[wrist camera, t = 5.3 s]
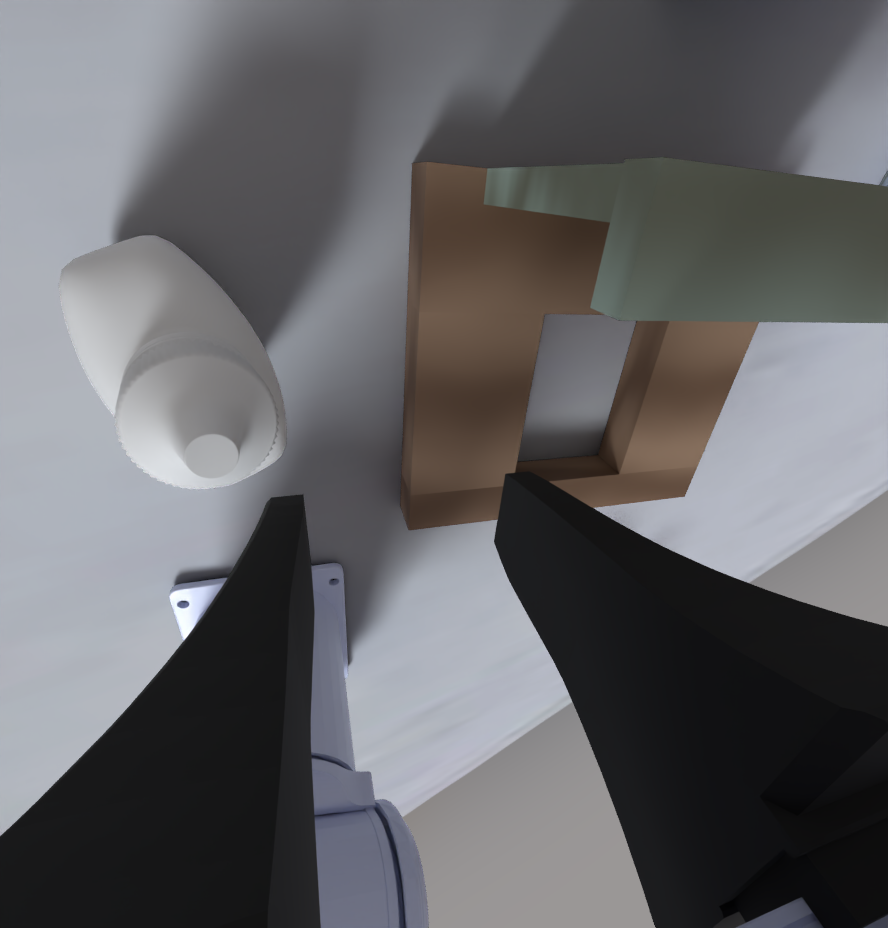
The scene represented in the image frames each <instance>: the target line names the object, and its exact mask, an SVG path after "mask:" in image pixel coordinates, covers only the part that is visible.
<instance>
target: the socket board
mask: <svg viewBox="0 0 888 928" xmlns="http://www.w3.org/2000/svg"><path fill="white" fill-rule="evenodd" d="M545 314H592V315H608V316H610V317H612V318H615V319H617V320H619V321H637V322H636V326H635V329H634V333H633V336H632V339H631V343H630V346H629V350H628V353H627V357H626V360H625V364H624V367H623V370H622V374H621V377H620V381H619V384H618V388H617V391H616V395H615V398H614V401H613V405H612V408H611V412H610V415H609V419H608V422H607V425H606V429H605V432H604V436H603V439H602V443H601V446H600V450H599V453H598V455H593V456H581V457H569V458H558V459H546V460H535V461H523V462H517V460H518V454H519V449H520V443H521V438H522V433H523V427H524V422H525V417H526V411H527V406H528V401H529V395H530V390H531V385H532V379H533V374H534V369H535V363H536V358H537V353H538V347H539V342H540V337H541V331H542V326H543V320H544V315H545ZM759 322H832V323H888V186H880V185H873V184H865V183H857V182H850V181H842V180H834V179H827V178H819V177H811V176H804V175H796V174H788V173H781V172H773V171H765V170H758V169H750V168H742V167H735V166H727V165H720V164H712V163H704V162H697V161H689V160H681V159H674V158H666V157H658V158H638V159H625V162H624V163H614V164H588V165H561V166H535V167H509V168H480V167H471V166H461V165H452V164H443V163H434V162H419V163H412V186H411V214H410V243H409V271H408V299H407V327H406V356H405V384H404V412H403V441H402V469H401V497H400V506H401V509H402V512H403V515H404V518H405V521H406V524H407V527H408V530H416V529H424V528H432V527H440V526H449V525H457V524H465V523H473V522H481V521H489V520H497V519H498V515H499V509H500V503H501V497H502V490H503V484H504V478H505V474H507V473H517V472H527V471H530V472H532V473H534V474H536V475H538V476H540V477H542V478H543V479H545V480H547V481H549V482H550V483H552V484H554V485H555V486H557V487H559V488H560V489H562V490H564V491H565V492H567V493H569V494H570V495H572V496H574V497H575V498H577V499H578V500H580V501H582V502H583V503H585V504H587V505H588V506H590V507H592V508H595V507H603V506H611V505H619V504H627V503H635V502H644V501H652V500H660V499H668V498H676V497H684V496H685V494H686V492H687V490H688V487H689V485H690V483H691V480H692V478H693V475H694V473H695V471H696V468H697V466H698V464H699V461H700V459H701V457H702V454H703V452H704V450H705V447H706V445H707V443H708V440H709V438H710V436H711V433H712V431H713V429H714V426H715V424H716V422H717V419H718V417H719V415H720V412H721V410H722V408H723V405H724V403H725V400H726V398H727V396H728V393H729V391H730V389H731V386H732V384H733V382H734V379H735V377H736V375H737V372H738V370H739V368H740V365H741V363H742V361H743V358H744V356H745V354H746V351H747V349H748V347H749V344H750V342H751V340H752V337H753V335H754V333H755V330H756V328H757V325H758V323H759Z"/></svg>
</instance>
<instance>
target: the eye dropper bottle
mask: <svg viewBox="0 0 888 928" xmlns="http://www.w3.org/2000/svg"><path fill="white" fill-rule="evenodd" d="M59 292H60V300H61V306H62V310H63V314H64V319H65V322H66V325H67V329H68V332H69V335H70V338H71V341H72V343H73V346H74V348H75V351H76V354H77V356H78V358H79V361H80V363H81V365H82V367H83V369H84V371H85V373H86V375H87V377H88V379H89V380H90V382H91V384H92V386H93V387H94V389H95V391H96V392H97V394H98V395H99V397H100V398H101V400H102V401H103V403H104V404H105V405H106V407H107V408H108V409H109V411H110V412H111V413H112V415H113V416H114V418H115V419H116V421H115V426H116V427H117V430H116V434H118V435H119V440H118V441H119V442H121V443H122V449H124V450H126V455H127V456H129V457H131V462H134V463H137V467H138V468H141V469H143V473H148V474H150V477H153V478H157V480H158V481H164V482H165V484H172V485H173V487H176V486H180V487H181V488H188V489H190V490H191V489H194V488H195V489H197V490H200V489H202V488H203V489H206V490H207V489H209V488H213V489H215V488H216V487H224V486H228V485H232V484H235V483H237V482H239V481H241V480H244V479H246V478H247V477H249V476H251V475H253V474H255V473H257V472H259V471H261V470H263V469H264V468H266V467H268V466H269V465H271V464H273V463H274V462H275V461H276V460H277V459H278V458H279V457H280V456H281V455H282V454H283V451H284V449H285V446H286V440H287V426H286V415H285V407H284V402H283V397H282V393H281V389H280V386H279V383H278V380H277V377H276V374H275V371H274V369H273V366H272V364H271V361H270V359H269V357H268V355H267V353H266V351H265V349H264V347H263V345H262V343H261V341H260V340H259V338H258V336H257V335H256V333H255V331H254V330H253V328H252V327H251V325H250V324H249V322H248V321H247V319H246V318H245V317H244V315H243V314H242V313H241V311H240V310H239V309H238V307H237V306H236V305H235V304H234V302H233V301H232V300H231V299H230V298H229V296H228V295H227V294H226V293H225V292H224V290H223V289H222V288H221V287H220V286H219V285H218V284H217V283H216V282H215V281H214V280H213V279H212V278H211V277H210V276H209V275H208V274H207V273H206V272H205V271H204V270H203V269H202V268H201V267H200V266H199V265H198V264H197V263H195V262H194V261H193V260H192V259H191V258H190V257H189V256H187V255H186V254H185V253H184V252H183V251H181V250H180V249H179V248H178V247H176V246H175V245H174V244H172V243H171V242H169V241H167V240H165V239H163V238H161V237H158V236H156V235H143V236H138V237H134V238H131V239H127V240H124V241H121V242H118V243H115V244H113V245H110V246H107V247H104V248H101V249H98V250H95V251H93V252H90V253H88V254H85V255H83V256H80V257H78V258H75V259H73V260H72V261H71V262H70V263H69V264H67V265H66V266H65V267H64V268H63V269H62V272H61V277H60V281H59Z"/></svg>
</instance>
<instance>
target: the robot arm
mask: <svg viewBox="0 0 888 928" xmlns="http://www.w3.org/2000/svg"><path fill="white" fill-rule="evenodd" d="M494 543H495V545H496V548H497V551H498V554H499V556H500V559H501V562H502V564H503V567H504V569H505V572H506V574H507V577H508V579H509V581H510V583H511V585H512V587H513V589H514V590H515V592H516V594H517V596H518V598H519V600H520V601H521V603H522V605H523V607H524V609H525V611H526V612H527V614H528V616H529V618H530V620H531V621H532V623H533V625H534V627H535V629H536V630H537V632H538V634H539V636H540V638H541V639H542V641H543V643H544V645H545V647H546V648H547V650H548V652H549V654H550V656H551V657H552V659H553V661H554V663H555V665H556V667H557V669H558V671H559V673H560V675H561V677H562V679H563V681H564V683H565V685H566V688H567V690H568V692H569V695H570V697H571V699H572V702H573V704H574V706H575V709H576V711H577V713H578V716H579V718H580V720H581V723H582V725H583V727H584V730H585V732H586V735H587V737H588V740H589V742H590V745H591V747H592V750H593V752H594V755H595V757H596V760H597V762H598V765H599V767H600V770H601V772H602V775H603V778H604V780H605V783H606V786H607V788H608V791H609V794H610V797H611V799H612V802H613V804H614V807H615V810H616V813H617V815H618V818H619V820H620V823H621V826H622V829H623V832H624V834H625V838H626V841H627V843H628V847H629V849H630V852H631V855H632V858H633V861H634V864H635V867H636V870H637V873H638V876H639V879H640V882H641V885H642V888H643V890H644V894H645V897H646V900H647V903H648V906H649V909H650V913H651V916H652V919H653V922H654V925H655V927H656V928H888V627H887V626H883V625H879V624H875V623H872V622H867V621H864V620H860V619H856V618H852V617H849V616H846V615H842V614H839V613H836V612H832V611H829V610H826V609H823V608H819V607H816V606H813V605H810V604H807V603H803V602H800V601H797V600H794V599H791V598H788V597H785V596H782V595H779V594H777V593H773V592H771V591H768V590H765V589H762V588H760V587H757V586H754V585H752V584H749V583H747V582H744V581H741V580H739V579H736V578H733V577H731V576H728V575H726V574H723V573H721V572H718V571H716V570H714V569H711V568H709V567H706V566H704V565H702V564H700V563H698V562H695V561H693V560H691V559H689V558H686V557H684V556H682V555H680V554H678V553H675V552H673V551H671V550H669V549H667V548H665V547H663V546H661V545H659V544H657V543H655V542H653V541H651V540H649V539H647V538H645V537H643V536H642V535H640V534H638V533H636V532H634V531H632V530H630V529H628V528H627V527H625V526H623V525H621V524H619V523H618V522H616V521H614V520H612V519H611V518H609V517H607V516H605V515H604V514H602V513H600V512H599V511H597V510H595V509H594V508H592V507H590V506H588V505H587V504H585V503H583V502H582V501H580V500H578V499H577V498H575V497H574V496H572V495H570V494H569V493H567V492H565V491H564V490H562V489H560V488H559V487H557V486H555V485H554V484H552V483H550V482H549V481H547V480H545V479H543V478H542V477H540V476H538V475H536V474H534V473H532V472H530V471H527V472H517V473H507V474H505V478H504V484H503V490H502V497H501V503H500V509H499V515H498V521H497V527H496V533H495V539H494ZM333 578H337V579H336V580H331V579H333ZM169 599H170V602H171V605H172V608H173V611H174V614H175V617H176V620H177V623H178V626H179V629H180V632H181V635H182V638H183V643H182V644H181V645H180V646H179V648H178V649H177V650H176V651H175V653H174V654H173V655H172V656H171V658H170V659H169V660H168V662H167V663H166V664H165V665H164V666H163V668H162V669H161V670H160V671H159V672H158V673H157V675H156V676H155V677H154V678H153V679H152V680H151V682H150V683H149V684H148V685H147V686H146V687H145V689H144V690H143V691H142V692H141V693H140V694H139V695H138V697H137V698H136V699H135V700H134V701H133V702H132V704H131V705H130V706H129V707H128V708H127V709H126V710H125V711H124V712H123V714H122V715H121V716H120V717H119V718H118V719H117V720H116V721H115V722H114V723H113V725H112V726H111V727H110V728H109V729H108V730H107V731H106V732H105V733H104V734H103V735H102V736H101V737H100V738H99V739H98V740H97V741H96V742H95V743H94V744H93V745H92V746H91V747H90V748H89V749H88V750H87V751H86V752H85V753H84V754H83V755H82V756H81V757H80V758H79V759H78V760H77V761H76V763H75V764H74V765H73V766H72V767H71V768H70V769H69V770H68V771H67V772H66V773H65V774H64V775H63V776H62V777H61V778H60V779H59V780H58V781H57V782H56V783H55V784H54V785H53V786H52V787H51V788H50V789H49V790H48V791H47V792H46V793H45V794H44V795H43V796H42V797H41V798H40V799H39V800H38V801H37V802H36V803H35V804H34V805H33V806H32V807H31V808H30V809H29V810H28V811H27V812H26V813H25V814H23V815H22V816H21V817H20V818H19V819H18V820H17V821H16V822H15V823H14V824H13V825H12V826H11V827H10V828H9V829H8V830H7V831H5V832H4V833H3V834H2V835H1V836H0V928H429V923H428V906H427V895H426V886H425V880H424V874H423V869H422V864H421V860H420V856H419V852H418V849H417V846H416V843H415V840H414V837H413V835H412V833H411V831H410V829H409V827H408V825H407V824H406V823H405V821H404V820H403V818H402V816H401V815H400V813H399V811H398V810H397V808H396V807H395V806H394V805H393V804H392V803H391V802H389V801H387V800H384V799H380V800H375V798H374V791H373V784H372V777H371V773H370V772H357V771H355V762H354V753H353V744H352V736H351V727H350V718H349V709H348V701H347V692H346V683H345V679H346V678H347V677H348V657H347V637H346V616H345V596H344V575H343V568H342V566H341V565H340V564H338V563H329V564H322V565H315V566H311V559H310V550H309V541H308V532H307V524H306V515H305V506H304V497H303V495H293V496H283V497H273V498H271V499H270V500H269V501H268V502H267V503H266V505H265V508H264V511H263V513H262V515H261V518H260V520H259V522H258V524H257V526H256V528H255V530H254V532H253V534H252V536H251V538H250V540H249V542H248V544H247V546H246V548H245V549H244V551H243V553H242V554H241V556H240V558H239V560H238V561H237V563H236V565H235V567H234V568H233V570H232V572H231V573H230V575H229V577H227V578H220V579H213V580H205V581H198V582H191V583H183V584H178V585H175V586H174V587H172V589H171V590H170V594H169ZM182 600H184V601H187V602H182Z"/></svg>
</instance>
